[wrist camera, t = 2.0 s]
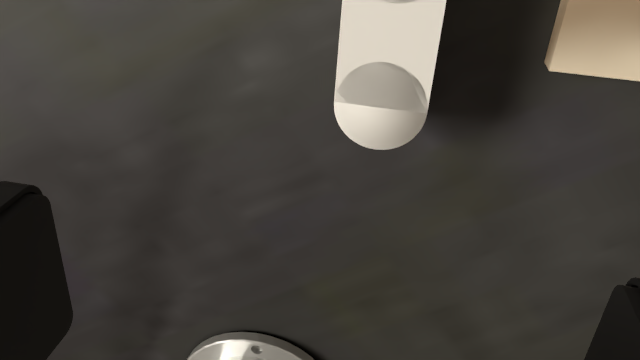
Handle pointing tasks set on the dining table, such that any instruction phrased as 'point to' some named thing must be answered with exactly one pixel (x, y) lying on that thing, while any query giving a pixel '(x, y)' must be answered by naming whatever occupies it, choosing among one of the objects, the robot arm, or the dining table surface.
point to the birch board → (596, 39)
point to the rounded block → (386, 69)
